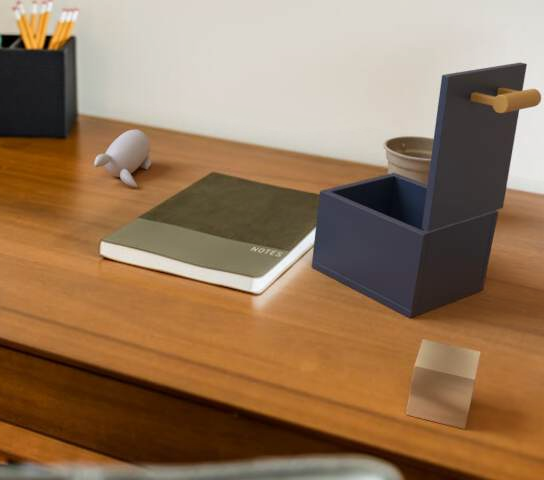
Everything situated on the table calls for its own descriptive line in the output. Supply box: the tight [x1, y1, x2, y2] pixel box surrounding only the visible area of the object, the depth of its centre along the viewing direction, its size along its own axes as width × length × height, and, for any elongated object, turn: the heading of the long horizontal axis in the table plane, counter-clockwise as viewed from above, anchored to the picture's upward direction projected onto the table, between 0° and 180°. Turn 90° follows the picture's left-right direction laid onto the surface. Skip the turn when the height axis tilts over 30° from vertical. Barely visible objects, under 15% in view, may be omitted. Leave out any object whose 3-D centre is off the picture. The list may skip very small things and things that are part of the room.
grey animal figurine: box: [93, 129, 152, 188], centre depth 121 cm, size 6×5×12 cm
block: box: [405, 338, 482, 430], centre depth 72 cm, size 5×5×5 cm
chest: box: [311, 173, 499, 319], centre depth 93 cm, size 14×12×9 cm
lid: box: [422, 62, 542, 231], centre depth 82 cm, size 14×12×5 cm
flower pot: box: [383, 135, 434, 185], centre depth 111 cm, size 9×9×9 cm
